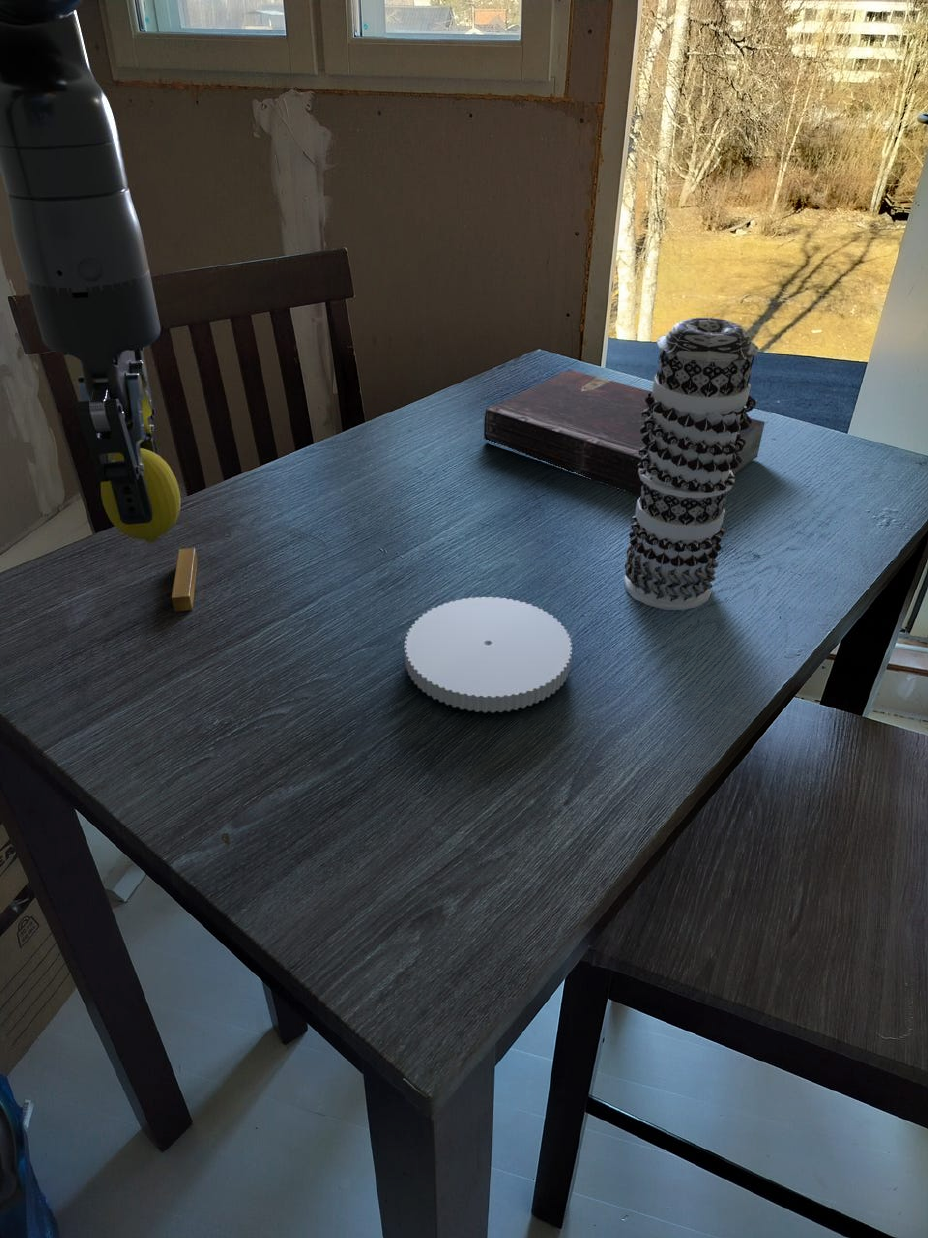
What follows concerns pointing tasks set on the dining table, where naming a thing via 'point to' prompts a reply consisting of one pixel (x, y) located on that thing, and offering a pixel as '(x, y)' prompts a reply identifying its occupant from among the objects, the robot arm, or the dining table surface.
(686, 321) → the decorative candle
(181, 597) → the block
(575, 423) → the hardback book
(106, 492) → the lemon
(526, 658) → the white gear wheel
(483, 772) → the dining table surface
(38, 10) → the robot arm
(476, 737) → the dining table surface
